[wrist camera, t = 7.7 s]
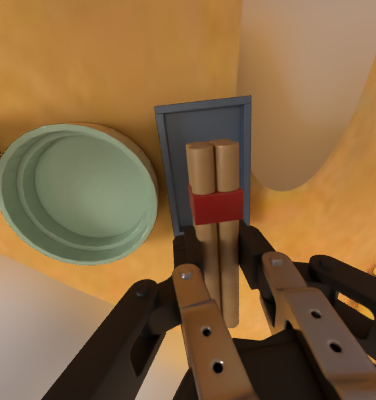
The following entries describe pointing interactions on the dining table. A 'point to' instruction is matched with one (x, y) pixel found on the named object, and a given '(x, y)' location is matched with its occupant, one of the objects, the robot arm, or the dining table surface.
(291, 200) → the dining table surface
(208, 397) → the robot arm
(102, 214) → the bowl
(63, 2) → the dining table surface
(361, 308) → the teapot
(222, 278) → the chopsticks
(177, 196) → the tray
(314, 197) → the dining table surface
